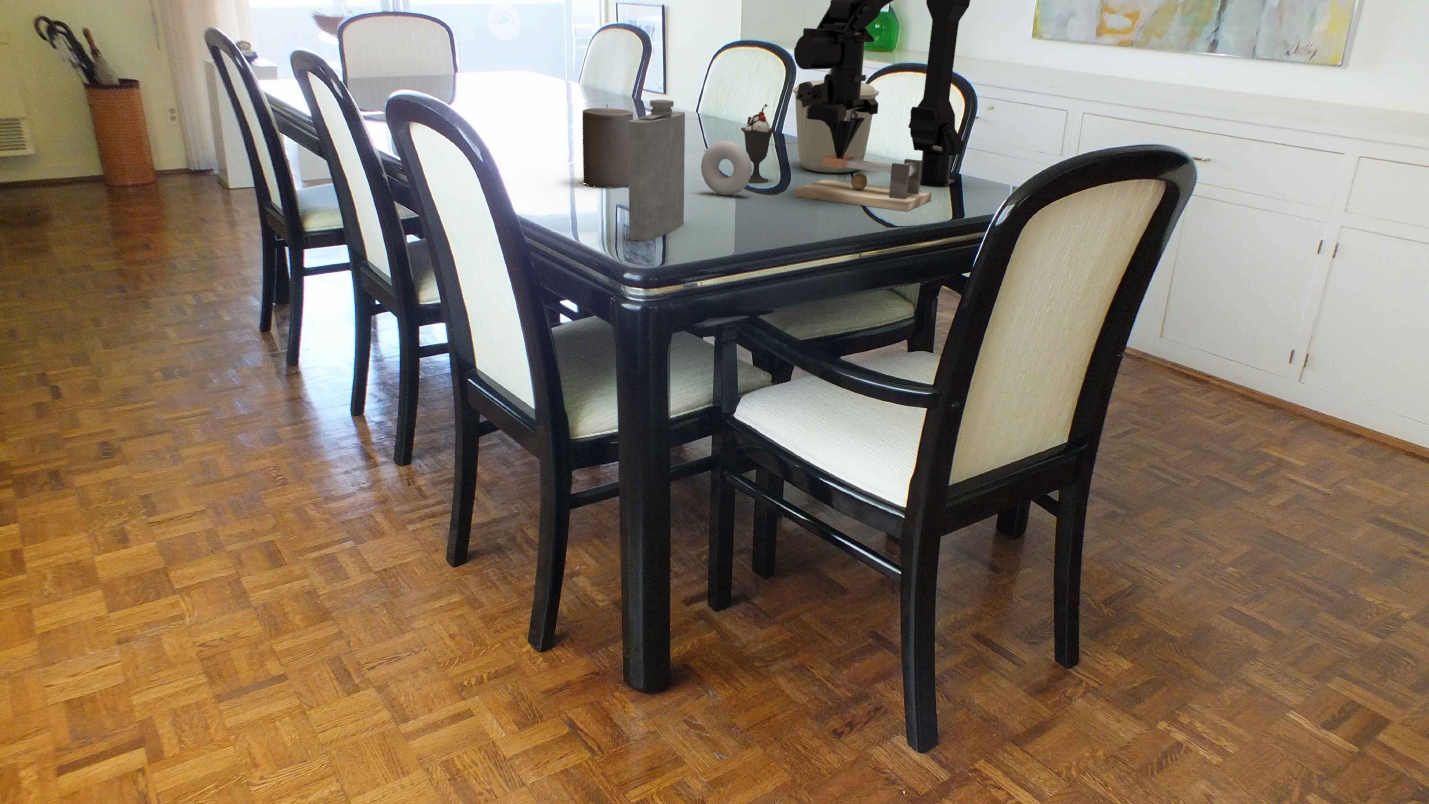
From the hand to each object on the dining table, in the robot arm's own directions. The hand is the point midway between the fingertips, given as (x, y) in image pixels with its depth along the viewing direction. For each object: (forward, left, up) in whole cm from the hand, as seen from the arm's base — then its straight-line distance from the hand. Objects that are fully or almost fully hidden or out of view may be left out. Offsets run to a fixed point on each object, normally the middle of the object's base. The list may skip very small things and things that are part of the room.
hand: (839, 156), depth 192 cm
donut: (+13, -17, -7) cm, 22 cm away
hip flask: (+45, -10, -7) cm, 47 cm away
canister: (-26, -14, -7) cm, 30 cm away
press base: (0, +5, -7) cm, 9 cm away
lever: (0, +6, -2) cm, 6 cm away
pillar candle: (+17, -41, -7) cm, 45 cm away
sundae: (-4, -20, -7) cm, 21 cm away
